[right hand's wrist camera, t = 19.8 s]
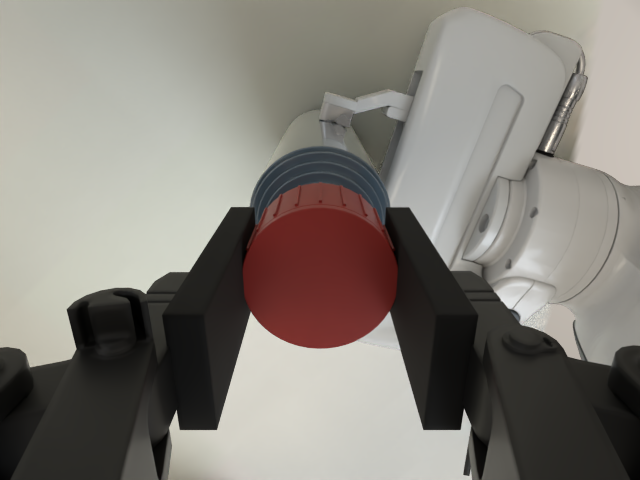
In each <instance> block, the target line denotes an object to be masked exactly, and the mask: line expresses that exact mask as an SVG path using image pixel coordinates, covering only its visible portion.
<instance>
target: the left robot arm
mask: <svg viewBox="0 0 640 480" xmlns="http://www.w3.org/2000/svg"><path fill="white" fill-rule="evenodd" d="M576 65H577V68H576V73H573V71H574V69H575V67H576ZM584 70H585V56H584V53H583V50H582V47H581V46H580V45H579V44H578V43H577V42H576V41H574V40H572V39H571V38H568V37H565V36H562V35H559V34H556V33H553V32H550V31H535V32H532V33H529V34H528V33H526V32H524V31H522V30H520V29H518V28H517V27H515V26H513V25H511V24H509V23H507V22H505V21H502V20H500V19H498V18H496V17H494V16H491V15H489V14H486V13H484V12H481V11H479V10H476V9H473V8H469V7H459V8H455V9H453V10H450V11H448V12H446V13H444V14H442V15H441V16H439V17H438V18H436V19H435V20H433V21H432V22H431V23H430V25H429V27H428V30H427V33H426V36H425V39H424V42H423V45H422V48H421V51H420V53H419V56H418V59H417V62H416V65H415V68H414V71H413V74H412V77H411V80H410V83H409V86H408V89H407V92H406V94H403V93H400V92H396V91H393V90H389V89H386V90H382V91H379V92H375V93H371V94H367V95H364V96H360V97H356V98H355V100H354V99H350V98H347V97H343V96H340V95H337V94H333V93H329V92H325V95H324V99H323V102H322V106H321V110H320V114H319V119H321V120H323V121H328V122H333V121H335V122H336V123H337V124H339V125H341V126H344V127H347V128H349V126H350V123H351V120H352V117H353V114H356V113H360V112H364V111H368V110H372V109H376V108H380V107H382V110H381V111H382V113H383V114H384V115H386V116H387V117H390V118H393V119H396V120H397V122H396V125H395V128H394V131H393V134H392V137H391V140H390V143H389V146H388V149H387V152H386V155H385V158H384V161H383V164H382V167H381V170H380V173H379V176H380V178H381V180H382V181H383V183H384V185H385V188H386V190H387V193H388V196H389V200H390V207H409V208H410V209H411V211H412V212H413V214H414V215H415V217H416V219H417V220H418V222H419V223H420V225H421V226H422V228H423V229H424V231H425V233H426V234H427V236H428V237H429V239H430V240H431V242H432V243H433V245H434V247H435V248H436V250H437V251H438V253H439V254H440V256H441V257H442V259H443V260H444V262H445V264H446V265H447V267H448V268H449V270H450V271H472V272H473V273H475V274H477V275H478V276H480V277H482V278H483V279H485V280H486V281H487V282H488V283H489V285H490V286H491V287H492V289H493V290H494V292H496V294H497V295H498V296H499V297H500V299H501V301H503V303H504V304H505V305H506V306H507V308H508V309H509V310H510V311H511V313H512V314H513V315H514V317H515V318H516V319H517V320H518V322H519V323H520V324H521V325H522V324H523V323H524V322H525V321H526V320H527V319H529V318H530V317H531V316H532V315H533V314H535V313H536V312H537V311H539V310H540V309H541V308H543V307H544V306H545V305H546V304H558V305H563V306H565V307H567V308H568V309H570V310H571V312H572V313H573V314H574V315H575V318H576V320H574V322H573V330H574V336H575V340H576V344H577V347H578V350H579V354H580V357H581V360H583V361H588V362H594V363H599V364H604V365H610V366H611V365H612V361H613V358H614V355H615V352H616V351H617V350H619V349H620V348H621V347H625V346H632V345H637V346H640V186H627V185H624V184H622V183H620V182H619V181H617V180H616V179H615V178H613V177H612V176H610V175H608V174H606V173H605V172H602V171H600V170H597V169H593V168H590V167H587V166H584V165H580V164H577V163H573V162H570V161H567V160H563V159H560V158H557V157H554V156H553V155H554V152H555V150H556V148H557V146H558V144H559V142H560V140H561V138H562V136H563V134H564V131H565V129H566V126H567V123H568V121H569V120H568V119H569V118H570V114H571V112H572V109H573V108H574V106H575V104H576V102H577V101H579V99H580V98H581V96H582V94H583V92H584V89H585V87H586V83H587V79H588V77H587V76H585V75H583V74H584ZM356 341H359V342H362V343H366V344H371V345H375V346H380V347H385V348H391V349H397V350H401V349H400V346H399V342H398V339H397V335H396V332H395V328H394V325H393V321H392V318H391V314H390V311H389V313H388V314H387V316H386V317H385V319H384V320H383V321H382V322H381V323H380V324H379V325H378V326H377V327H376V328H375V329H374V330H373V331H371V332H370V333H369V334H367V335H366V336H364V337H362V338H360V339H358V340H356Z"/></svg>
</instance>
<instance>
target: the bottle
mask: <svg viewBox="0 0 640 480" xmlns="http://www.w3.org/2000/svg"><path fill="white" fill-rule="evenodd" d="M320 110H321V109H318V110H311V111H308V112H305V113H303V114H301V115H300V116H298V117H297V118H296V119H294V120H293V121H292V123H291V124H290V125H289V127H288V128H287V130H286V132H285V133H284V135H283V137H282V139H281V141H280V142H279V144H278V146H277V148H276V150H275V151H274V153H273V155H272V157H271V159H270V160H269V162H268V164H267V166H266V168H265V169H264V171H263V173H262V175H261V177H260V178H259V180H258V182H257V184H256V186H255V188H254V191H253V194H252V197H251V203H250V207H255V224H257V225H258V223H259V221H260V219H261V217H262V214H263V211H264V209H265V208H268V206H269V205H270V204H271V203H272V202H273V201H274V200H275V199H277V198H278V197H279V195H280V194H284V193H285V192H287V191H289V190H291V189H293V188H296V187H298V186H299V185H301V186H302V185H307V184H313V183H319V182H322V183H326V184H334V185H338V186H340V185H342V186H343V187H344V188H347V189H350V190H351V191H353V192H355V193H357V194H358V195H359V194H361V195H362V197H363V198H364V199H365V200H366V201H367V202H368V203H369V204H370V205H371V206H372V207H373V208H376V210H377V213H378V215H379V218H380V220H381V222H382V225H385V213H386V207H390V200H389V196H388V193H387V190H386V188H385V185H384V183H383V181H382V180H381V178H380V176H379V174H378V172H377V171H376V169H375V167H374V165H373V163H372V162H371V160H370V158H369V156H368V154H367V153H366V151H365V149H364V147H363V145H362V144H361V142H360V140H359V138H358V136H357V135H356V133H355V131H354V129H353V128H352V126H351V125H350V126H349V128H347V127H344V126H341V125H339V124H337V123H336V122H335V121H333V122H328V121H323V120H321V119H319V114H320Z"/></svg>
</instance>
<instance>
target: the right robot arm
mask: <svg viewBox="0 0 640 480" xmlns="http://www.w3.org/2000/svg"><path fill="white" fill-rule="evenodd" d="M255 225H256V224H255V207H231V208H230V210H229V211H228V213H227V214H226V216H225V218H224V219H223V221H222V222H221V224H220V225H219V227H218V228H217V230H216V232H215V233H214V235H213V236H212V238H211V239H210V241H209V242H208V244H207V246H206V247H205V249H204V250H203V252H202V253H201V255H200V256H199V258H198V260H197V261H196V263H195V264H194V266H193V267H192V269H191V270H190V272H170V273H168V274H166V275H165V276H163V277H161V278H160V279H158V280H156V281H155V282H154V283H153V284H152V286H151V287H150V288H149V290H148V291H147V294H145V293H143V292H142V291H141V290H137V289H132V288H113V289H107V290H101V291H98V292H95V293H92V294H89V295H86V296H84V297H83V298H81V299H79V300H77V301H75V302H74V303H73V304H72V305H71V306H70V307H69V308H68V309H67V313H68V317H69V321H70V325H71V329H72V333H73V336H74V340H75V344H76V348H77V350H76V352H75V354H74V355H73V357H72V359H70V360H66V361H62V362H57V363H52V364H46V365H41V366H36V367H31V368H30V366H29V363H28V360H27V357H26V354H25V353H24V352H22V351H21V350H20V349H16V348H10V347H4V348H0V480H168V473H169V465H170V457H171V449H172V444H171V437H170V431H169V426H170V424H171V422H172V419H173V417H174V414H175V412H176V410H177V415H178V421H179V427H180V430H217V428H218V424H219V421H220V417H221V414H222V410H223V407H224V403H225V400H226V396H227V393H228V389H229V386H230V382H231V379H232V375H233V372H234V368H235V365H236V361H237V358H238V354H239V351H240V347H241V344H242V340H243V337H244V333H245V330H246V326H247V323H248V319H249V316H250V312H251V310H250V309H249V307H248V305H247V302H246V300H245V296H244V283H243V262H244V259H245V256H246V253H247V251H246V247H247V245H248V242H249V240H250V237H251V235H252V233H253V230H254V228H255ZM385 227H386V229H387V232H388V234H389V236H390V239H391V241H392V244H393V246H394V249H395V251H393V252H394V255H395V257H396V261H397V265H398V275H397V288H396V298H395V301H394V304H393V306H392V307H391V309H390V314H391V318H392V321H393V325H394V328H395V332H396V335H397V339H398V342H399V346H400V349H401V353H402V356H403V360H404V363H405V367H406V370H407V374H408V377H409V381H410V384H411V388H412V391H413V395H414V398H415V402H416V405H417V409H418V412H419V416H420V419H421V423H422V426H423V430H461V423H462V417H463V411H464V409H465V411H466V414H467V416H468V418H469V421H470V423H471V431H470V437H469V443H468V449H467V455H466V461H465V467H464V474H463V475H467V476H469V474H470V469H471V472H472V480H640V346H637V345H632V346H625V347H621V348H620V349H619V350H617V351H616V352H615V355H614V358H613V361H612V365H611V366H610V365H604V364H599V363H594V362H588V361H583V360H578V359H574V358H570V357H567V355H566V353H565V351H564V349H563V348H562V346H561V345H560V344H559V343H558V342H557V340H555V339H554V338H552V337H550V336H549V335H547V334H546V333H544V332H541V331H539V330H536V329H534V328H531V327H526V326H522V325H521V324H520V323H519V322H518V320H517V319H516V318H515V317H514V315H513V314H512V313H511V311H510V310H509V309H508V308H507V306H506V305H505V304H504V303H503V301H501V299H500V297H499V296H498V295H497V294H496V292H494V290H493V289H492V287H491V286H490V285H489V283H488V282H487V281H486V280H485V279H483V278H482V277H480V276H478V275H477V274H475V273H473V272H472V271H450V270H449V268H448V267H447V265H446V264H445V262H444V260H443V259H442V257H441V256H440V254H439V253H438V251H437V250H436V248H435V247H434V245H433V243H432V242H431V240H430V239H429V237H428V236H427V234H426V233H425V231H424V229H423V228H422V226H421V225H420V223H419V222H418V220H417V219H416V217H415V215H414V214H413V212H412V211H411V209H410V208H409V207H386V213H385Z"/></svg>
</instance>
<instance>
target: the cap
mask: <svg viewBox="0 0 640 480" xmlns="http://www.w3.org/2000/svg"><path fill="white" fill-rule="evenodd" d="M246 251H247V253H246V256H245V259H244V262H243V283H244V296H245V300H246V302H247V305H248V307H249V309H250V310H251V312H252V314H253V315H254V317H255V318H256V319H257V320H258V322H259V323H260V324H261V325H262V326H263V327H264V328H265V329H267V330H268V331H269V332H270V333H272V334H273V335H275V336H276V337H278V338H280V339H282V340H284V341H286V342H288V343H291V344H294V345H298V346H302V347H307V348H333V347H339V346H343V345H346V344H349V343H352V342H354V341H356V340H358V339H360V338H362V337H364V336H366V335H367V334H369V333H370V332H371V331H373V330H374V329H375V328H376V327H377V326H378V325H379V324H380V323H381V322H382V321H383V320H384V319H385V317H386V316H387V314H388V313H389V311H390V309H391V307H392V306H393V304H394V301H395V298H396V288H397V275H398V265H397V261H396V257H395V255H394V252H393V251H395V249H394V246H393V244H392V241H391V239H390V236H389V234H388V232H387V229H386V227H385V225H382V222H381V220H380V218H379V215H378V213H377V210H376V208H373V207H372V206H371V205H370V204H369V203H368V202H367V201H366V200H365V199H364V198H363V197H362V195H361V194H359V195H358V194H357V193H355V192H353V191H351V190H350V189H347V188H344V187H343V186H342V185H340V186H338V185H334V184H326V183H322V182H319V183H313V184H307V185H302V186H301V185H299V186H298V187H296V188H293V189H291V190H289V191H287V192H285V193H284V194H280V195H279V197H278V198H277V199H275V200H274V201H273V202H272V203H271V204H270V205H269V206H268V208H265V209H264V211H263V214H262V217H261V219H260V221H259V223H258V225H257V224H256V225H255V228H254V230H253V233H252V235H251V237H250V240H249V242H248V245H247V247H246Z"/></svg>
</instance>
